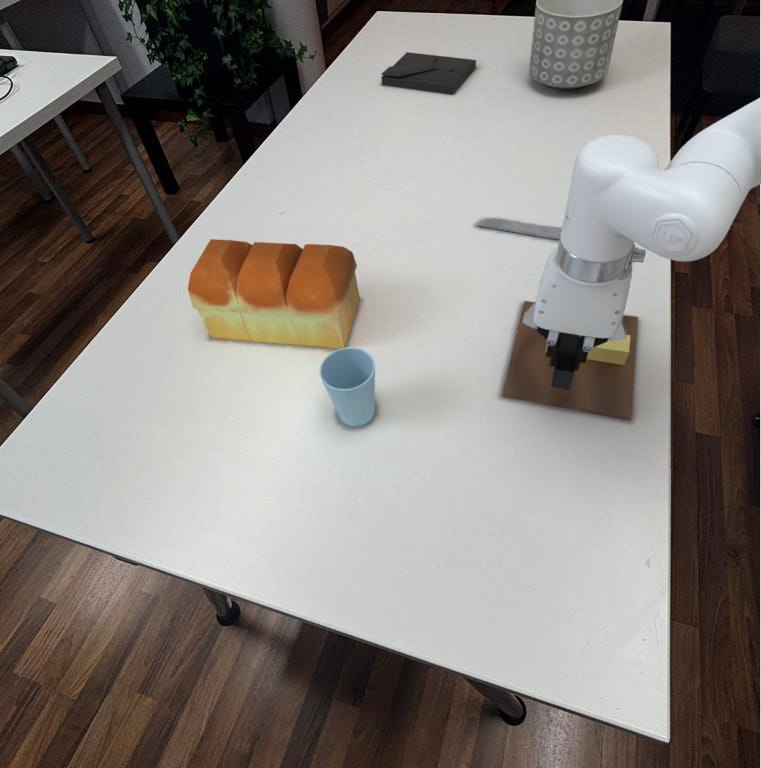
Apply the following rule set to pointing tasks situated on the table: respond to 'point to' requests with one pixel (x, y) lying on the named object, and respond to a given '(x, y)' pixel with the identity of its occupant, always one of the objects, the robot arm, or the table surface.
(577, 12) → the planter
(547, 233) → the knife
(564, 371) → the screwdriver
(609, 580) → the table surface
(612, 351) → the butter
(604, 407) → the butter board
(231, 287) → the bread
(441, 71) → the picture frame
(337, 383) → the cup
